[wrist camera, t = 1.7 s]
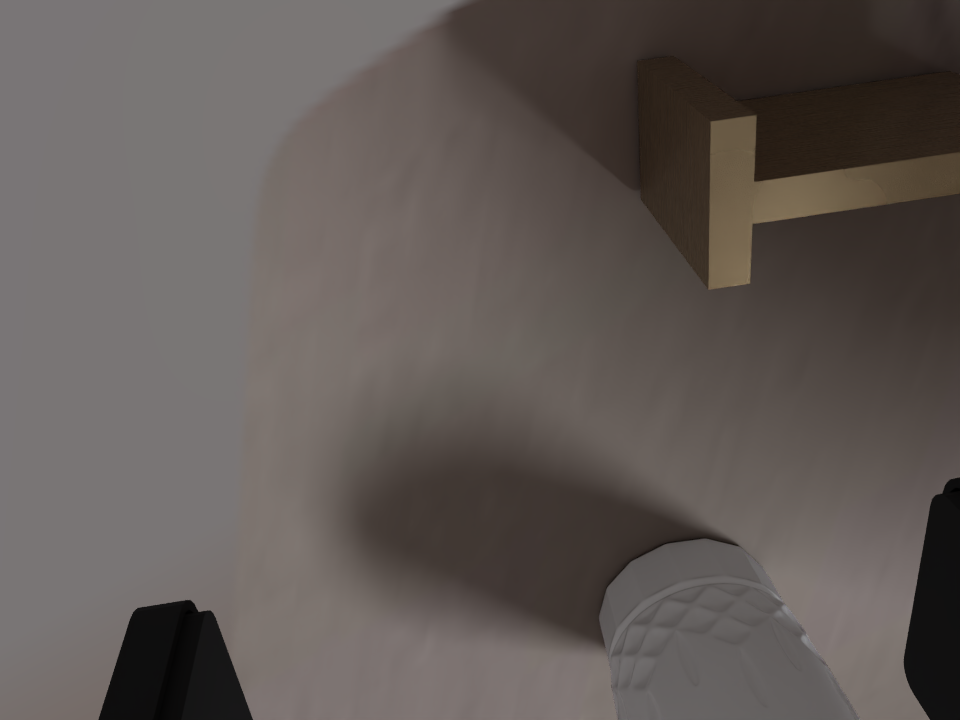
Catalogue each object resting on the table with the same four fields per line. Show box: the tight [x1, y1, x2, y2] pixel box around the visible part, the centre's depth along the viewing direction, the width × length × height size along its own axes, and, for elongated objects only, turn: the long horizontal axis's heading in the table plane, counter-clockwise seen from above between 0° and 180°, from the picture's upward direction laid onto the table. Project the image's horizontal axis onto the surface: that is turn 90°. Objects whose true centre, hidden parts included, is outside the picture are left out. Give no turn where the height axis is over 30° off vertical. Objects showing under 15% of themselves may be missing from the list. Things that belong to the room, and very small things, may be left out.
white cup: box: [599, 538, 861, 720], centre depth 31 cm, size 8×8×10 cm
